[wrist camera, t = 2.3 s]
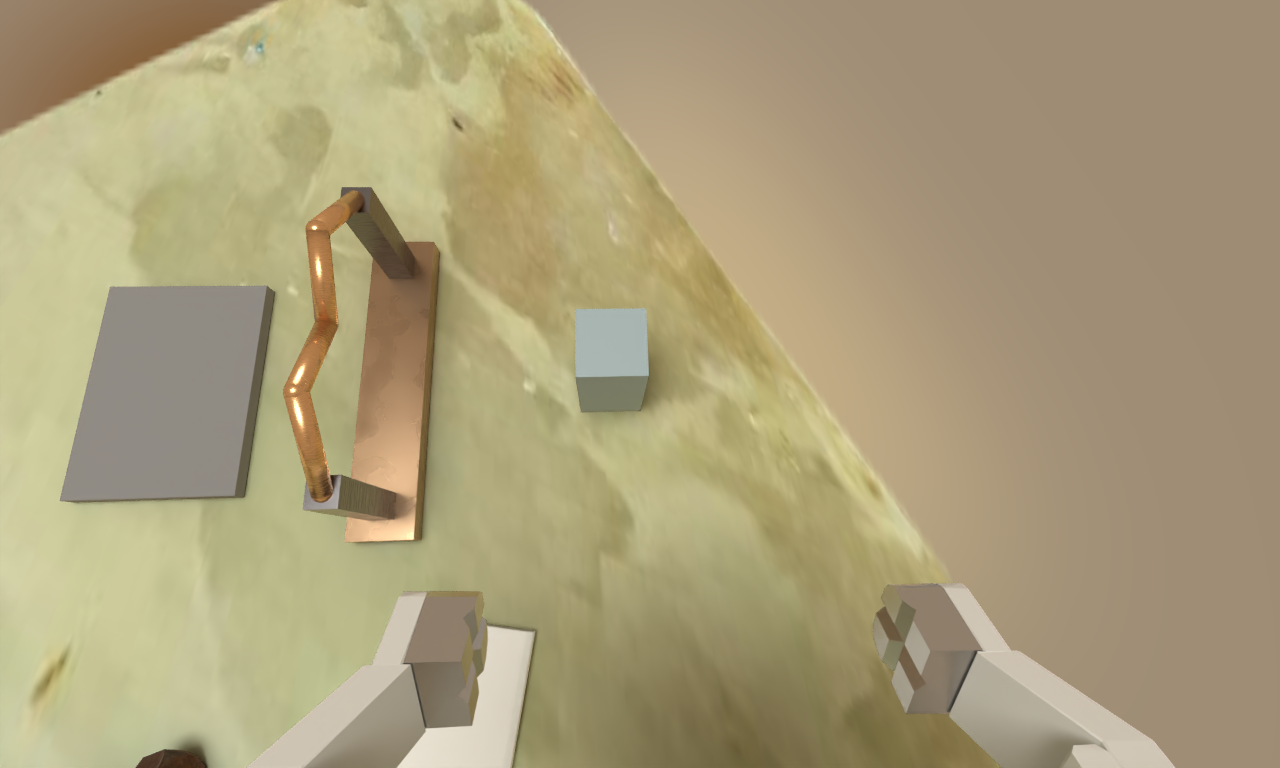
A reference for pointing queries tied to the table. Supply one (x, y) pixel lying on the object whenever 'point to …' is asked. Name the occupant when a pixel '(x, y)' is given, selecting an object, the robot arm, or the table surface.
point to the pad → (171, 395)
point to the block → (611, 359)
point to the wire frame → (372, 376)
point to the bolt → (171, 760)
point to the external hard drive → (485, 710)
